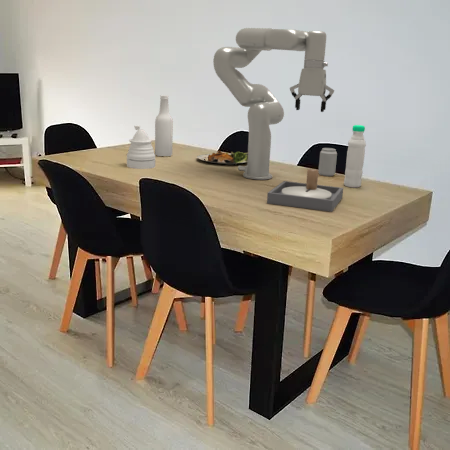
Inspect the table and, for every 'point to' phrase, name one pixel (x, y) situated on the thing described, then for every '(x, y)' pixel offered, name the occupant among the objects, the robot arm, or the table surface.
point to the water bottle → (355, 157)
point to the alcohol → (163, 129)
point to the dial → (309, 188)
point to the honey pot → (140, 151)
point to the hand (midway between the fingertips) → (309, 110)
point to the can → (327, 162)
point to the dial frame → (301, 201)
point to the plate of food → (225, 158)
